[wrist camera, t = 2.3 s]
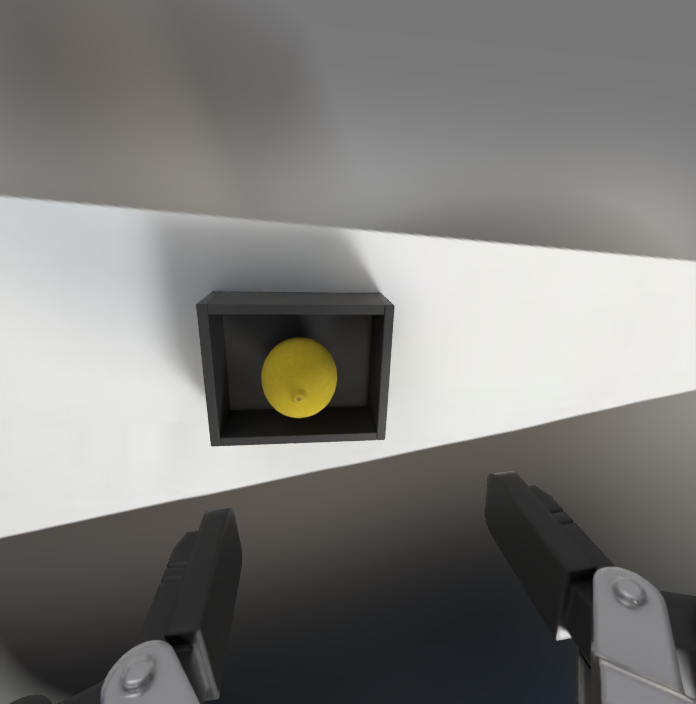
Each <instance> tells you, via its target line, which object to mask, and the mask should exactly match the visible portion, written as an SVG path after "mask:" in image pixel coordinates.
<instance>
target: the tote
mask: <svg viewBox="0 0 696 704" xmlns="http://www.w3.org/2000/svg"><path fill="white" fill-rule="evenodd" d="M196 307H197V316H198V326H199V336H200V345H201V355H202V364H203V374H204V384H205V393H206V403H207V412H208V422H209V432H210V441H211V446H220V445H221V446H233V445H259V444H286V443H312V442H338V441H364V440H376V439H377V440H384V439H385V431H386V417H387V403H388V389H389V375H390V361H391V347H392V333H393V319H394V305H393V304H392V303H391V302H390V301H389V300H388V299H387V298H385V297H384V296H383V295H382V294H381V293H316V292H212V293H210V294H209V295H208V296H206V297H205V298H204V299H203V300H201V301H200V302H199V303H197V304H196ZM294 337H305V338H309V339H313V340H315V341H317V342H318V343H320V344H321V345H323V346H324V347H325V348H326V349H327V350H328V351H329V353H330V354H331V356H332V357H333V360H334V362H335V365H336V369H337V383H336V388H335V392H334V394H333V396H332V398H331V400H330V402H329V403H328V404H327V405H326V406H325V407H324V408H323V409H322V410H321V411H319V412H318V413H316V414H314V415H312V416H309V417H303V418H294V417H289V416H286V415H283V414H282V413H280V412H278V411H277V410H276V409H275V408H274V407H273V406H272V405H271V404H270V403H269V401H268V400H267V398H266V396H265V394H264V390H263V387H262V368H263V365H264V361H265V359H266V358H267V356H268V354H269V353H270V351H271V350H272V349H273V348H274V347H275V346H276V345H277V344H279V343H281V342H283V341H284V340H286V339H290V338H294Z"/></svg>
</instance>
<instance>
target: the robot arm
mask: <svg viewBox="0 0 696 704" xmlns="http://www.w3.org/2000/svg"><path fill="white" fill-rule="evenodd" d="M485 517H486V522H487V526H488V529H489V531H490V533H491V535H492V536H493V538H494V540H495V541H496V543H497V545H498V546H499V548H500V550H501V551H502V553H503V554H504V556H505V558H506V559H507V561H508V563H509V564H510V566H511V568H512V569H513V571H514V573H515V574H516V576H517V578H518V579H519V581H520V582H521V584H522V586H523V587H524V589H525V590H526V592H527V594H528V595H529V597H530V599H531V600H532V602H533V604H534V605H535V607H536V609H537V610H538V612H539V614H540V615H541V617H542V619H543V620H544V622H545V623H546V625H547V627H548V629H549V630H550V632H551V633H552V635H553V637H554V638H555V640H562V639H567V638H572V639H573V641H574V642H575V643H576V645H577V647H578V653H577V685H576V704H696V596H690V595H684V594H676V593H670V592H664V591H658V590H657V589H656V588H655V587H654V586H653V585H651V583H649V582H648V581H647V580H645V579H644V578H643V577H641V576H639V575H637V574H635V573H633V572H631V571H629V570H626V569H623V568H618V567H615V566H614V565H613V564H612V563H611V562H610V560H609V559H608V558H607V557H606V556H605V555H604V554H603V553H602V552H601V551H600V549H599V548H598V547H597V546H596V545H595V544H594V543H593V542H592V541H591V540H590V538H589V537H588V536H587V535H586V534H585V533H584V532H583V531H582V530H581V529H580V527H579V526H577V524H576V523H573V520H572V519H571V518H570V517H569V516H568V514H567V513H566V512H563V509H562V508H561V507H560V506H559V504H558V503H557V502H556V501H555V500H554V499H553V498H552V497H551V496H550V495H548V494H547V493H545V492H543V491H542V490H540V489H539V488H537V487H536V486H527V485H526V483H525V482H524V481H523V480H522V479H521V478H520V477H519V475H518V474H517V473H515V472H514V471H509V472H501V473H494V474H490V475H489V476H488V480H487V493H486V506H485ZM241 566H242V549H241V543H240V539H239V534H238V529H237V524H236V520H235V515H234V511H233V509H232V508H226V509H219V510H211V511H206V512H205V514H204V516H203V519H202V522H201V525H200V528H199V531H195V532H187V533H186V534H185V536H184V537H183V538H182V539H181V541H180V542H179V543H178V544H177V545H176V546H175V548H174V549H173V552H172V554H171V557H170V559H169V562H168V564H167V569H166V570H165V572H164V575H163V577H162V580H161V584H160V585H159V587H158V590H157V593H156V595H155V598H154V601H153V603H152V605H151V608H150V610H149V613H148V615H147V618H146V621H145V623H144V626H143V628H142V631H141V633H140V636H139V639H138V641H137V643H136V645H135V647H134V648H133V649H131V650H130V651H128V652H127V653H126V654H125V655H123V656H122V657H121V658H120V659H119V660H118V661H117V663H116V664H115V665H114V666H113V667H112V669H111V671H110V672H109V673H108V675H107V677H106V679H104V680H103V681H102V682H100V683H98V684H97V685H95V686H93V687H91V688H89V689H87V690H85V691H83V692H81V693H79V694H77V695H74V696H72V697H71V698H68V699H66V700H64V701H62V702H60V703H58V704H204V701H208V700H213V699H219V694H220V688H221V682H222V676H223V671H224V665H225V659H226V653H227V647H228V642H229V636H230V630H231V625H232V619H233V613H234V607H235V601H236V596H237V590H238V585H239V579H240V573H241ZM11 704H52V703H51V701H50V700H49V699H48V698H47V697H46V696H43V695H29V696H26V697H23V698H20V699H18V700H16V701H14V702H12V703H11Z"/></svg>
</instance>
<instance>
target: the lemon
mask: <svg viewBox="0 0 696 704" xmlns="http://www.w3.org/2000/svg"><path fill="white" fill-rule="evenodd" d="M336 383H337V369H336V365H335V362H334V360H333V357H332V356H331V354H330V353H329V351H328V350H327V349H326V348H325V347H324V346H323V345H321V344H320V343H318V342H317V341H315V340H313V339H309V338H305V337H294V338H290V339H286V340H284V341H283V342H281V343H279V344H277V345H276V346H275V347H274V348H273V349H272V350H271V351H270V353H269V354H268V356H267V358H266V359H265V361H264V365H263V368H262V387H263V390H264V394H265V396H266V398H267V400H268V401H269V403H270V404H271V405H272V406H273V407H274V408H275V409H276V410H277V411H278V412H280V413H282V414H283V415H286V416H289V417H294V418H303V417H309V416H312V415H314V414H316V413H318V412H319V411H321V410H322V409H323V408H324V407H325V406H326V405H327V404H328V403H329V402H330V400H331V398H332V396H333V394H334V392H335V388H336Z"/></svg>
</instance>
